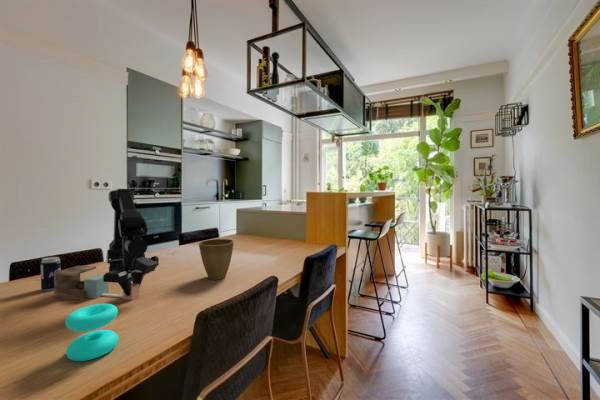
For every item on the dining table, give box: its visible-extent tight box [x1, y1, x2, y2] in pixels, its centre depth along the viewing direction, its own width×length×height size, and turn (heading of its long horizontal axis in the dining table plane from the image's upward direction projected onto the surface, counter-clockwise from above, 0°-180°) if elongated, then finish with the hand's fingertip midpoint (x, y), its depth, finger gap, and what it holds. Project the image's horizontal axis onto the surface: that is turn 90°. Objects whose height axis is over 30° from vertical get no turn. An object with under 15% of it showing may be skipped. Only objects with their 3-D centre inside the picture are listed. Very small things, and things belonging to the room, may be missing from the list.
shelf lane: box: [53, 265, 97, 300], centre depth 100 cm, size 9×12×9 cm
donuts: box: [65, 303, 119, 362], centre depth 65 cm, size 10×10×10 cm
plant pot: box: [198, 238, 235, 281], centre depth 121 cm, size 15×15×16 cm
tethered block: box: [83, 274, 141, 301], centre depth 98 cm, size 5×18×6 cm, turn 81°
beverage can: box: [40, 256, 62, 292], centre depth 105 cm, size 6×6×12 cm
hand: (132, 293), depth 97 cm, fingers closed on tethered block, 3 cm apart
